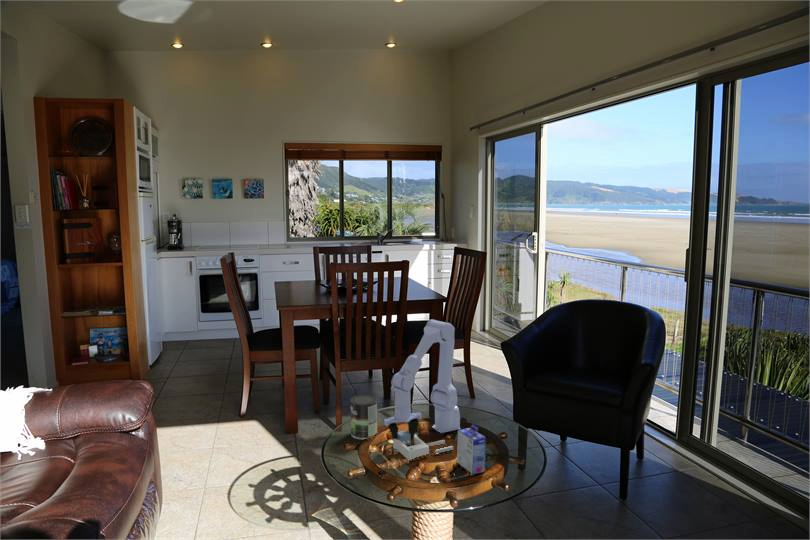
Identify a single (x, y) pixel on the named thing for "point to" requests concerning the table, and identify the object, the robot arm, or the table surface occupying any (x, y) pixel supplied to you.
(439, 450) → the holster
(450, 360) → the robot arm
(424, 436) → the table surface
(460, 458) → the ink cartridge box
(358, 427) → the coffee can
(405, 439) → the plug
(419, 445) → the port
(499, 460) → the table surface
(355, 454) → the table surface
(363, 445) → the table surface
